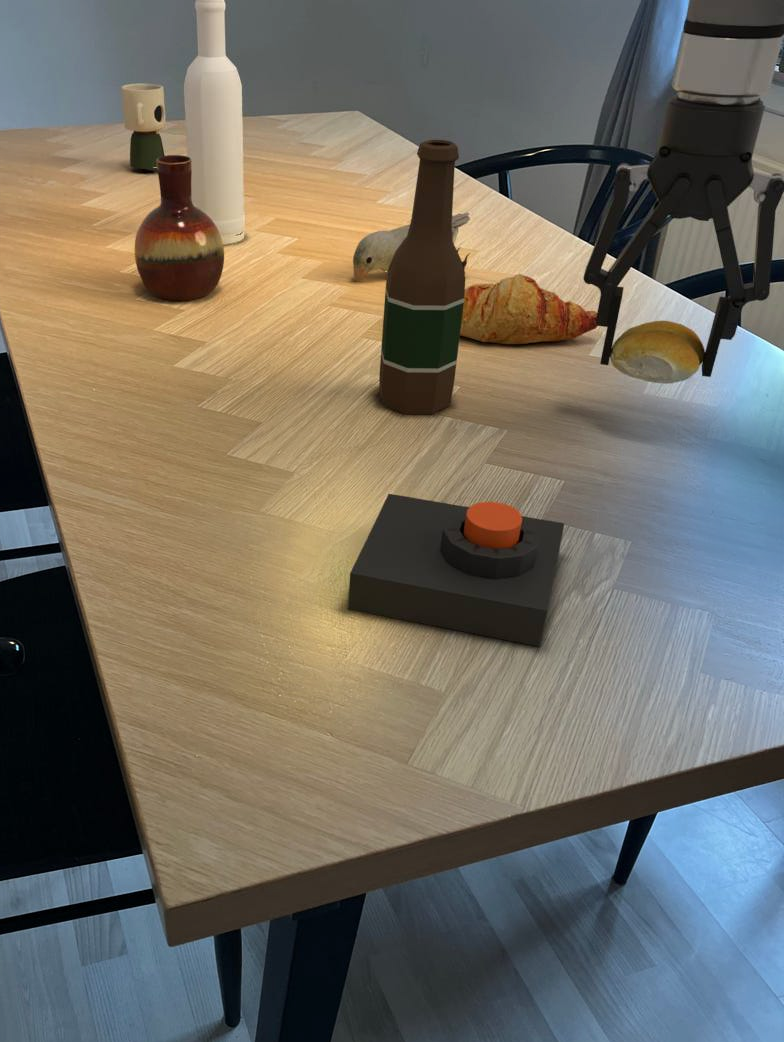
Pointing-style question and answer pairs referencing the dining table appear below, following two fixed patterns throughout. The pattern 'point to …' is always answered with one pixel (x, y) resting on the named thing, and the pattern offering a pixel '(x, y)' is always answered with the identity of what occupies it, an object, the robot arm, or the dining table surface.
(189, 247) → the vase
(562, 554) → the dining table surface
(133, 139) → the character mug
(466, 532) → the orange button cap
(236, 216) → the bottle
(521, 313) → the croissant
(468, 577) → the push button switch
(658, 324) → the bread roll
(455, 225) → the decorative bird
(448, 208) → the beer bottle
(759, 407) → the dining table surface
